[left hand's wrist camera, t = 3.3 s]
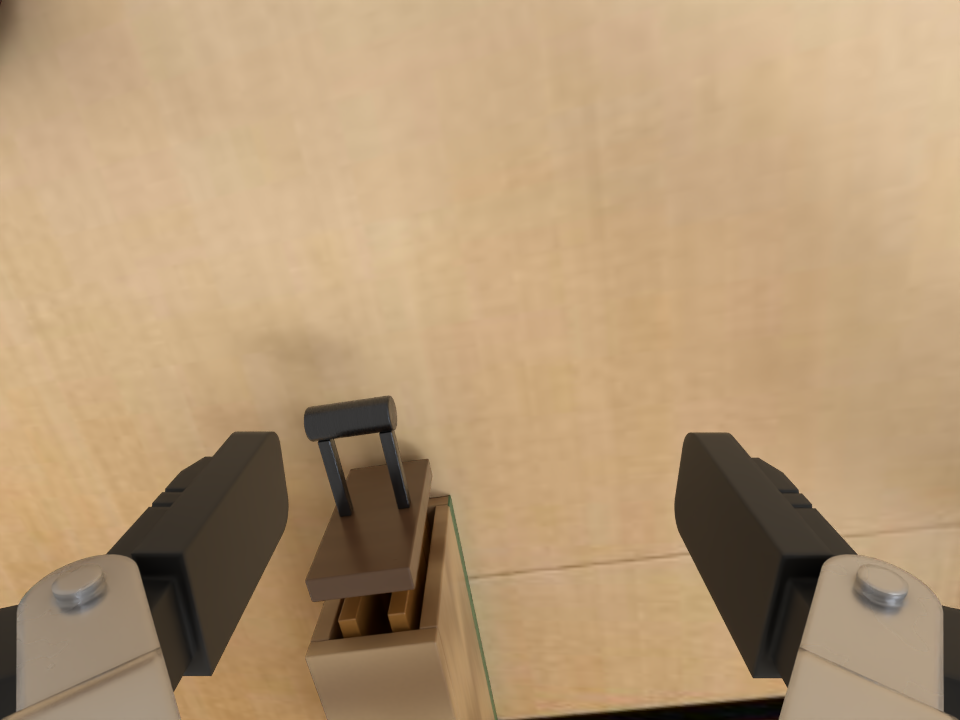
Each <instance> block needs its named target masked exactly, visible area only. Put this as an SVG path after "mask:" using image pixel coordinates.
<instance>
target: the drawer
mask: <svg viewBox="0 0 960 720" xmlns="http://www.w3.org/2000/svg"><path fill="white" fill-rule="evenodd" d="M396 426H397V412H396V407H395V403H394V400H393V398H392V397H391V396H382V397H375V398H369V399H362V400H355V401H348V402H341V403H334V404H327V405H320V406H313V407H309V408H307V409H306V411H305V414H304V427H305V432H306V435H307V437H308V439H309V440H310V441H313V442H315V441H318V445H319V448H320V452H321V455H322V458H323V462H324V465H325V469H326V472H327V475H328V479H329V482H330V485H331V489H332V492H333V496H334V499H335V502H336V507H335V509H334V512H333V514H332V517H331V519H330V521H329V524H328V526H327V529H326V531H325V534H324V536H323V538H322V541H321V543H320V546H319V548H318V551H317V553H316V556H315V558H314V560H313V563H312V565H311V568H310V570H309V573H308V575H307V578H306V580H305V582H306V585H307V588H308V591H309V594H310V597H311V600H312V602H317V601H326V600H334V599H342V598H345V600H344V604H343V607H342V610H341V613H340V617H339V620H338V622H339V625H340V628H341V631H342V634H343V637H344V638H352V637H360V636H369V635H377V634H385V633H394V632H402V631H411V630H419V628H420V620H421V613H422V605H423V598H424V590H425V582H426V575H427V567H428V560H429V552H430V545H431V537H432V535H431V531H430V527H429V522H428V518H427V514H426V513H427V507H428V500H429V494H430V487H431V481H432V472H431V468H430V463H429V460H428V459H423V460H415V461H408V462H402V461H401V456H400V452H399V448H398V444H397V440H396V436H395V431H394V430H395V429H396ZM379 432H380V433H379ZM372 433H379V435H380V439H381V443H382V447H383V451H384V455H385V459H386V463H387V464H386V465H379V466H372V467H364V468H357V469H351V470H350V473H349V475H348V477H347V480H345V477H344V473H343V470H342V466H341V463H340V459H339V455H338V452H337V448H336V445H335V441H334V439H336V438H343V437H350V436H357V435H364V434H372Z"/></svg>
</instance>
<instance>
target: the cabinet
mask: <svg viewBox="0 0 960 720" xmlns="http://www.w3.org/2000/svg"><path fill="white" fill-rule="evenodd" d="M426 514H427V518H428V522H429V527H430V531H431V535H432V537H431V545H430V552H429V560H428V567H427V575H426V582H425V590H424V598H423V605H422V613H421V620H420V628H419V630H411V631H402V632H394V633H385V634H377V635H369V636H360V637H352V638H344V637H343V634H342V631H341V628H340V625H339V622H338V620H339V617H340V613H341V610H342V607H343V604H344V600H345V598H342V599H334V600H326V601H325V602H324V605H323V607H322V610H321V613H320V616H319V619H318V622H317V625H316V628H315V630H314V633H313V636H312V639H311V643H310V645H309V648H308V651H307V654H306V657H305V659H306V661H307V664H308V667H309V670H310V673H311V675H312V678H313V681H314V684H315V686H316V689H317V692H318V695H319V698H320V700H321V703H322V706H323V709H324V711H325V714H326V717H327V720H498V719H497V715H496V710H495V705H494V700H493V695H492V691H491V686H490V681H489V676H488V672H487V667H486V662H485V657H484V653H483V648H482V643H481V638H480V634H479V629H478V624H477V619H476V615H475V610H474V605H473V600H472V596H471V591H470V586H469V581H468V576H467V572H466V567H465V562H464V557H463V553H462V548H461V543H460V538H459V534H458V529H457V524H456V519H455V515H454V510H453V505H452V500H451V496H450V495H449V496H446V497H438V498H431V499H429V500H428V507H427V513H426Z"/></svg>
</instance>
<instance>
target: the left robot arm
mask: <svg viewBox="0 0 960 720" xmlns="http://www.w3.org/2000/svg"><path fill="white" fill-rule="evenodd" d="M674 507H675V519H676V524H677V528H678V531H679V533H680V535H681V537H682V539H683V541H684V543H685V545H686V547H687V549H688V551H689V553H690V555H691V557H692V559H693V561H694V563H695V565H696V567H697V569H698V571H699V573H700V575H701V577H702V579H703V581H704V583H705V585H706V587H707V589H708V590H709V592H710V594H711V596H712V598H713V600H714V602H715V604H716V606H717V608H718V610H719V612H720V614H721V616H722V618H723V620H724V622H725V624H726V626H727V628H728V630H729V632H730V634H731V636H732V638H733V640H734V642H735V644H736V646H737V648H738V650H739V652H740V654H741V655H742V657H743V659H744V661H745V663H746V665H747V667H748V669H749V671H750V673H751V675H752V677H753V678H782V679H783V681H784V682H785V684H786V686H787V688H788V689H787V693H786V696H785V700H784V703H783V707H782V711H781V714H780V718H779V720H960V610H959V609H955V608H950V607H946V606H942V605H941V603H940V601H939V599H938V598H937V597H936V595H935V594H934V593H933V592H932V591H931V590H930V588H929V587H927V586H926V585H925V584H924V583H923V582H922V581H920V580H919V579H917V578H916V577H914V576H913V575H911V574H910V573H908V572H906V571H905V570H903V569H901V568H899V567H897V566H894V565H892V564H890V563H887V562H885V561H882V560H878V559H875V558H871V557H867V556H861V555H857V553H856V552H855V551H854V550H853V549H852V548H851V547H850V546H849V545H848V544H847V543H846V541H845V540H844V539H843V538H842V537H841V536H840V535H839V534H838V533H837V532H836V530H835V529H834V528H833V527H832V526H831V525H830V524H829V523H828V522H827V521H826V519H825V518H824V517H823V516H822V515H821V514H820V513H819V512H818V511H817V510H816V509H815V508H812V504H811V503H810V502H809V501H808V500H807V499H806V498H805V496H804V495H803V494H799V490H798V489H797V488H796V487H795V485H794V484H793V483H792V482H791V481H790V480H789V479H788V478H787V477H786V476H785V475H784V473H783V472H781V471H779V470H778V469H776V468H774V467H773V466H771V465H769V464H768V463H766V462H765V461H763V460H761V459H760V458H751V457H750V456H749V455H748V453H747V452H746V451H745V450H744V449H743V448H742V446H741V445H740V444H739V443H738V442H737V441H736V439H735V438H734V437H733V436H732V435H731V434H730V433H688V434H687V435H686V437H685V439H684V442H683V448H682V455H681V461H680V468H679V475H678V482H677V488H676V495H675V506H674ZM287 518H288V495H287V488H286V481H285V474H284V467H283V460H282V453H281V446H280V441H279V438H278V436H277V434H276V433H275V432H234V433H232V434H231V435H230V437H229V438H228V439H227V440H226V441H225V443H224V444H223V445H222V446H221V447H220V448H219V450H218V451H217V452H216V453H215V454H214V456H213V457H204V458H202V459H201V460H199V461H197V462H196V463H194V464H192V465H191V466H189V467H188V468H186V469H184V470H183V471H181V472H180V473H179V474H178V475H177V476H176V478H175V479H174V480H173V481H172V482H171V483H170V484H169V485H168V486H167V487H166V489H165V492H162V493H161V494H160V495H159V496H158V497H157V499H156V500H155V501H154V502H153V503H152V507H148V509H147V510H146V511H145V512H144V513H143V514H142V515H141V516H140V517H139V518H138V520H137V521H136V522H135V523H134V524H133V525H132V526H131V527H130V528H129V530H128V531H127V532H126V533H125V534H124V535H123V536H122V537H121V538H120V540H119V541H118V542H117V543H116V544H115V545H114V546H113V547H112V548H111V549H110V551H109V552H108V553H107V554H106V555H99V556H93V557H89V558H85V559H82V560H78V561H75V562H73V563H70V564H68V565H66V566H63V567H61V568H59V569H57V570H55V571H54V572H52V573H50V574H49V575H47V576H46V577H44V578H43V579H41V580H40V581H38V582H37V583H36V584H35V585H34V586H33V587H31V588H30V590H29V591H28V592H27V593H26V594H25V595H24V597H23V598H22V599H21V601H20V603H19V605H15V606H10V607H6V608H1V609H0V720H181V718H180V714H179V711H178V707H177V703H176V700H175V696H174V693H173V692H174V691H175V689H176V687H177V685H178V683H179V682H180V680H181V678H182V676H212V674H213V672H214V670H215V668H216V666H217V664H218V662H219V660H220V658H221V656H222V654H223V652H224V650H225V648H226V646H227V644H228V642H229V640H230V638H231V636H232V634H233V632H234V630H235V628H236V626H237V624H238V622H239V620H240V618H241V616H242V614H243V612H244V610H245V608H246V606H247V604H248V602H249V600H250V598H251V596H252V594H253V592H254V590H255V588H256V586H257V584H258V582H259V580H260V578H261V576H262V574H263V572H264V570H265V568H266V566H267V564H268V562H269V560H270V558H271V556H272V554H273V552H274V550H275V548H276V546H277V544H278V542H279V540H280V538H281V536H282V534H283V532H284V530H285V527H286V523H287Z"/></svg>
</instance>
